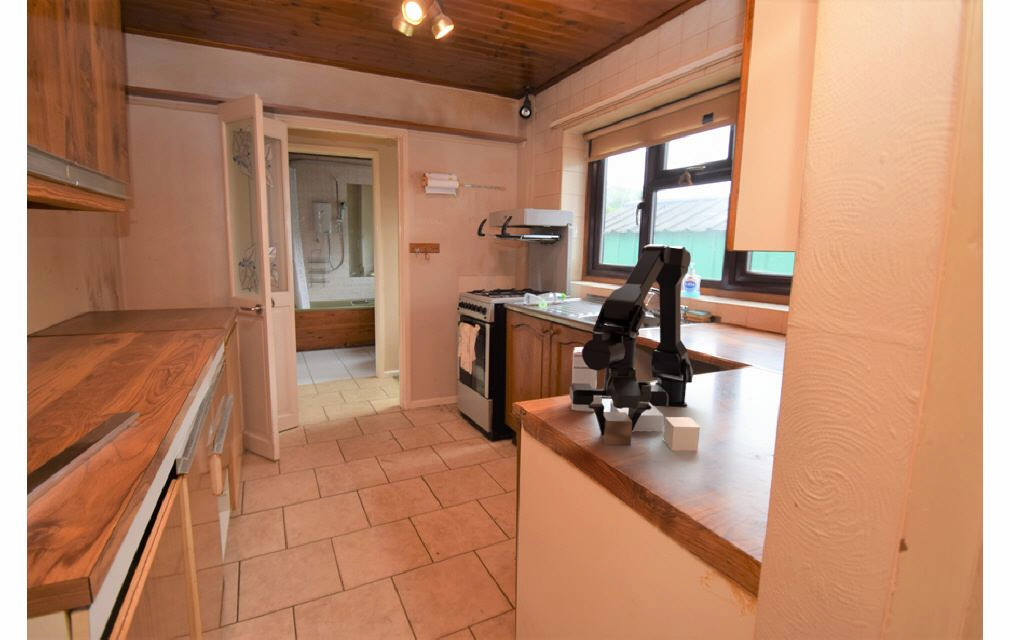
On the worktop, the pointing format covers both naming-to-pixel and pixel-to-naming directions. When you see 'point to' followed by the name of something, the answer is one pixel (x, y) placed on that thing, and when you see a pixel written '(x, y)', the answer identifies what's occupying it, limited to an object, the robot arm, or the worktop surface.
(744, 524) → the worktop surface
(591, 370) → the syrup box
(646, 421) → the base block
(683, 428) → the cream cube
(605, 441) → the walnut cube
